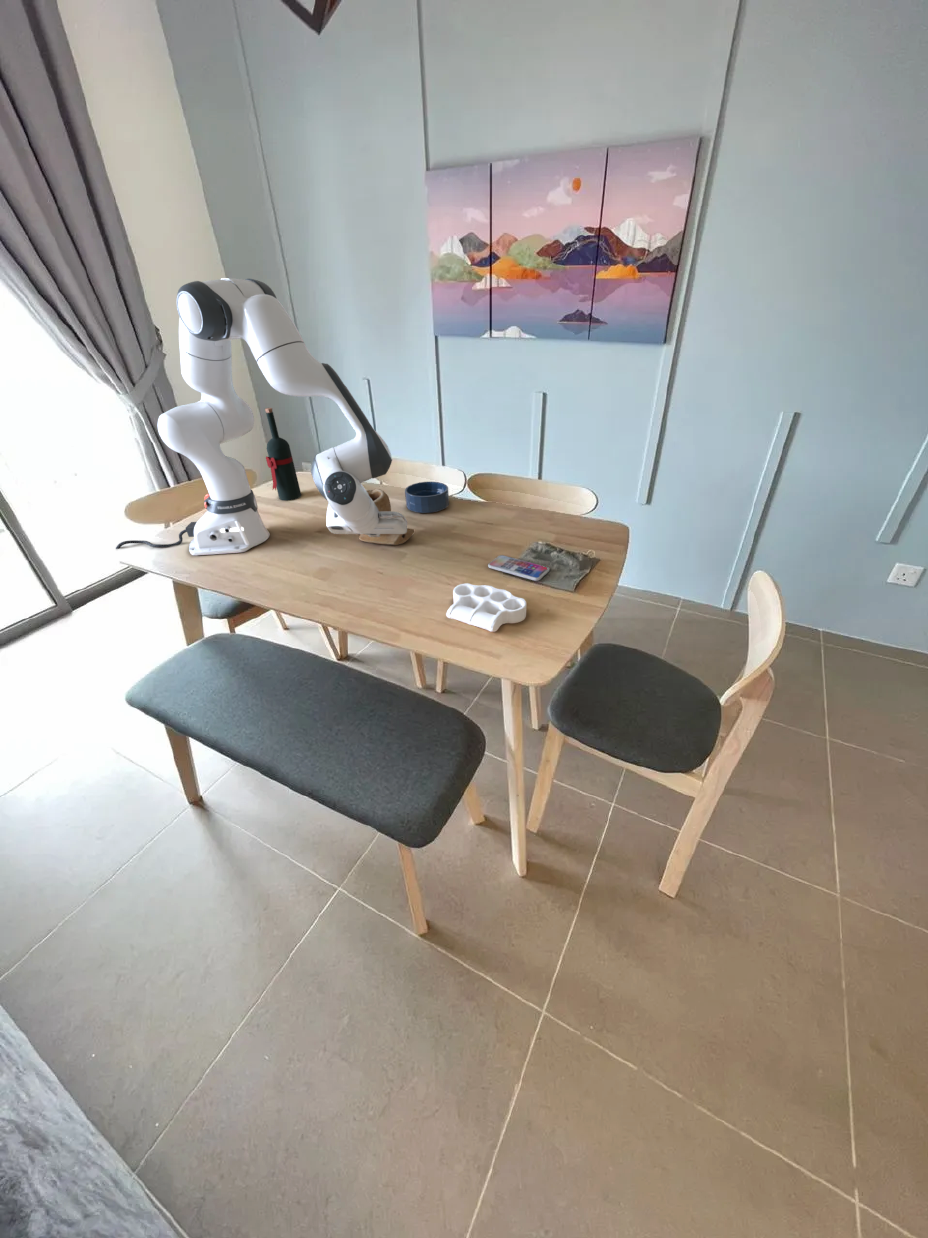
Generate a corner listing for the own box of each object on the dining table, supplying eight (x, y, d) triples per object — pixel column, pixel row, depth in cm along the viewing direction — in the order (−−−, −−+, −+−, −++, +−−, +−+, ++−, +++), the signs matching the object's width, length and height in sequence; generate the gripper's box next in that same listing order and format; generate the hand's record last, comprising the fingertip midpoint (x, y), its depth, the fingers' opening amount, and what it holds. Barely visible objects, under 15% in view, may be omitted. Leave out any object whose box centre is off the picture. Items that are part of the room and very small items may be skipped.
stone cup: (350, 546, 142) (341, 496, 134) (372, 529, 151) (364, 482, 143) (396, 553, 137) (390, 502, 129) (416, 536, 146) (411, 487, 138)
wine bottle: (269, 500, 175) (244, 411, 158) (290, 491, 182) (269, 404, 165) (285, 504, 172) (261, 413, 155) (306, 494, 179) (286, 406, 162)
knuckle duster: (434, 617, 111) (468, 587, 121) (506, 640, 103) (535, 606, 113) (433, 604, 109) (467, 575, 119) (506, 627, 101) (536, 594, 111)
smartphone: (500, 553, 133) (551, 567, 126) (500, 557, 133) (550, 570, 126) (486, 564, 128) (538, 579, 121) (486, 568, 128) (538, 582, 121)
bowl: (411, 517, 158) (409, 499, 155) (403, 501, 170) (401, 484, 166) (453, 510, 161) (452, 493, 158) (443, 496, 173) (442, 479, 169)
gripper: (402, 502, 121) (413, 523, 135) (322, 502, 123) (340, 523, 136) (401, 526, 120) (411, 545, 133) (320, 527, 122) (338, 545, 135)
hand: (375, 534), depth 135 cm, fingers closed
